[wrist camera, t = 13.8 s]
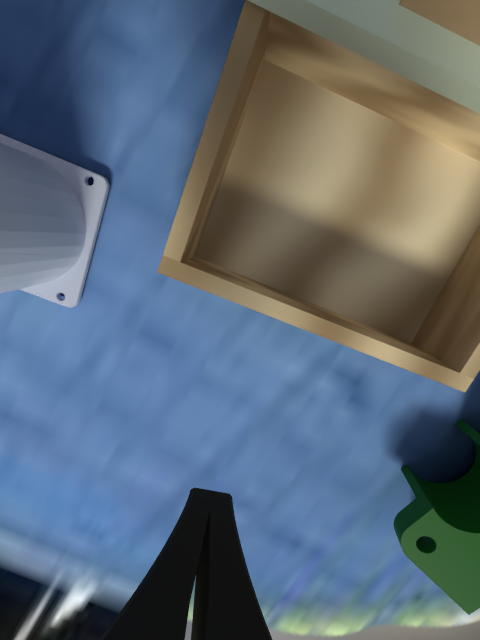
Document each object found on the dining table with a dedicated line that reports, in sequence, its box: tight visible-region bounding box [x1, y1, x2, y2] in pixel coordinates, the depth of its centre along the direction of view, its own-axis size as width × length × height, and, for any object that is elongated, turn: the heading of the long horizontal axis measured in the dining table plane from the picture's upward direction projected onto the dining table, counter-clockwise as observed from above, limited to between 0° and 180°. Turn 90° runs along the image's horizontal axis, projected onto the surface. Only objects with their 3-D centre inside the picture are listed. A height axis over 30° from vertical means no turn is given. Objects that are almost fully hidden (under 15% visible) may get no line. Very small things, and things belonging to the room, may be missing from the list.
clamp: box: [394, 419, 480, 615], centre depth 19 cm, size 12×6×9 cm, turn 134°
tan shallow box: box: [158, 0, 480, 392], centre depth 15 cm, size 16×17×5 cm
